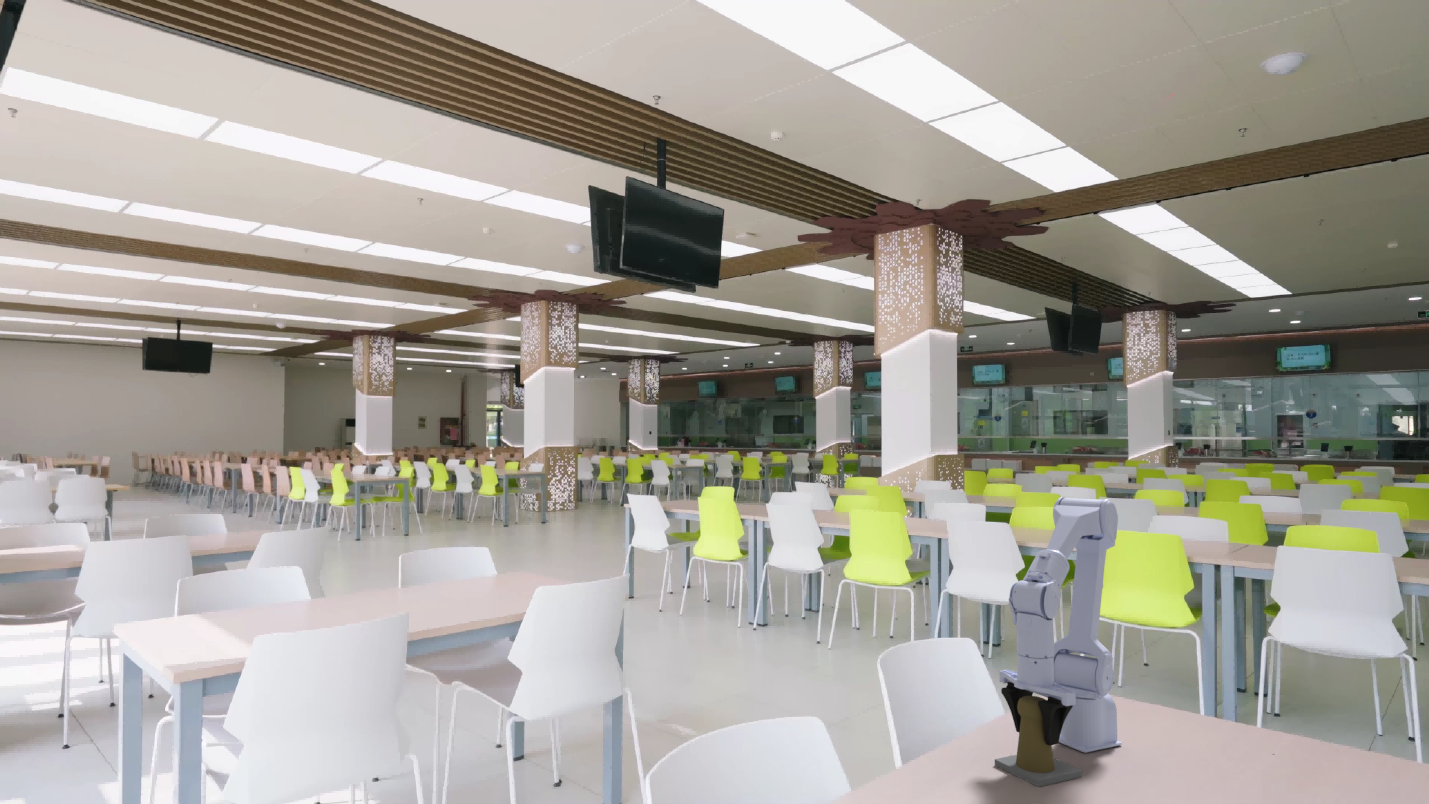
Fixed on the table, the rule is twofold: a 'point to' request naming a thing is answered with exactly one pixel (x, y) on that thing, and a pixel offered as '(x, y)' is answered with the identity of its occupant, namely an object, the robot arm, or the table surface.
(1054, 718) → the robot arm
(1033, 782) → the mat
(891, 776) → the table surface
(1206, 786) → the table surface
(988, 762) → the table surface
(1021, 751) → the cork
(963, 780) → the table surface
